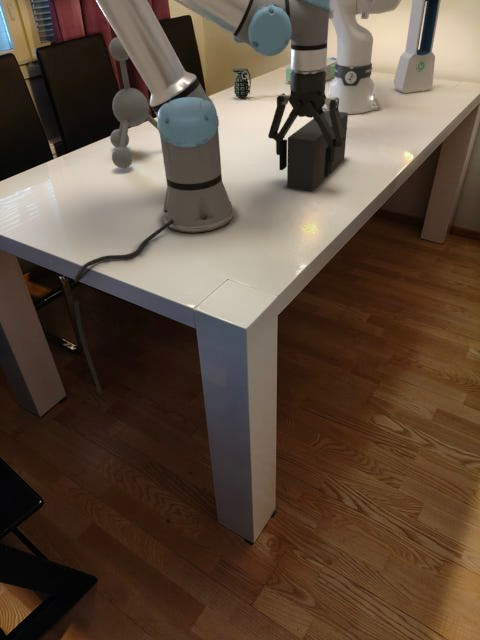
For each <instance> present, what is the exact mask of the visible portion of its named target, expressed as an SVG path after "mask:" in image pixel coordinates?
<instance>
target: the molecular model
mask: <svg viewBox="0 0 480 640" xmlns="http://www.w3.org/2000/svg"><path fill="white" fill-rule="evenodd" d="M108 50H109V53H110V56H111V57H112V58H113V60H116V61H117V62H119V65H120V72H121V76H122V83H123V87H124V88H122V89H120V90H119V91H117V92H116V93H115V95H114V97H113V99H112V105H111V106H112V112H113V115H114V117H115V119H117V121H118V122H119V123H120V124H119V128H116V129H114V130H113V131H112V132H111V134H110V137H109V140H110V143H111V145H112V146H113V147H114V148H115V149H114V150H113V151H112V154H111V160H112V162H113V164H114V165H115V166H116V167H117V168H119V169H127V168H129V167H130V166H131V165H132V163H133V160H134V157H133V153H132V151H131V150H130V149H129V148H127V147H128V145H129V143H130V137H129V133H128V132H129V127H130V128H135V127H139V126H141V125H142V124H144V123H145V122H146V121H147V122H149V123H150V124H151V125H152V126H153V127H154V128H156V130H158V126H157V124H158V120H156V119H155V118H154V117H153V116H151V115H150V113H149V112H150V104H149V101H148V99H147V98H146V97H147V96H145V94H143V92H142V91H140V90H139V89H137V88H134V87H131V86H130V85H131V84H130V80H129V74H128V69H127V68H128V67H127V62H126V61H127V60H129V59H130V57H129V55H128V54H127V52H126V50H125V48H124V47H123V45H122V43H121V42H120V40H119V38H118V37H117V36H115V37H114V38H112V39H111V41H110V42H109V45H108Z"/></svg>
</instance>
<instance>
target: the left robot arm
mask: <svg viewBox="0 0 480 640" xmlns="http://www.w3.org/2000/svg"><path fill="white" fill-rule="evenodd" d="M95 1H96V3H97V5H98V7H99V9H100V11H102V13H103V15H104V17H105V18H106V20H107V22H108V23H109V25H110V27H111V28H112V30H113V32H114V33H115V35H116V37H118V38H119V40H120V42H121V43H122V45H123V47H124V48H125V50H126V52H127V54H128V55H129V59H130V60H131V62H132V64H133V65H134V67H135V68H136V71H137V72H138V74H139V75H140V77H141V79H142V80H143V82H144V84H145V85H146V87H147V89H148V90H149V92H150V99H149V107H150V108H151V109H152V111H153V113H154V114H155V116H156V118H157V122H158V124H157V126H158V129H157V131H158V133H159V138H160V145H161V150H162V152H161V153H162V159H163V165H164V166H163V168H164V173H165V180H166V190H165V191H166V192H165V196H164V203H163V207H162V218H163V222H164V225H162V226H160V227H159V228H158V229H157V230H155V231H154V232H153V233H151V234H150V235H149V236H147V237H146V238H145V239H143V240H142V242H141V243H140V244H139V246H138V247H137V249H136V250H134V251H132V252H130V253H127V254H111V255H110V254H109V255H103V256H100V257H97V258H95V259H91V260H89V261H87V262H85V263H84V264H83V265H82V266H81V267H80V268H79V269H78V271H77V273H76V275H75V278H74V282H75V283H77V282H79V281H80V279H81V277H82V275H83V273H84V272H85V270H87V268H89V267H90V266H92V265H94V264H97V263H101V262H104V261H107V260H125V259H129V258H132V257H135V256H137V255H139V254H140V253H141V252H142V251H143V248H144V247H145V245H147V243H149V242H150V241H152V240H153V239H154V238H155V237H156V236H158V235H159V234H161V233H162V232H163V231H164V230H166V229H167V228H169V229H171V230H173V231H177V232H180V233H190V234H191V233H192V234H193V233H194V234H195V233H196V234H197V233H205V232H206V233H207V232H210V231H215V230H216V229H220V228H222V227H224V226H226V225H227V224H228V223H230V221H231V220H232V218H233V216H234V212H233V211H234V210H233V205H232V201H231V200H230V197H229V195H228V192H227V190H226V187H225V184H224V182H223V175H222V174H223V173H222V161H221V147H220V146H221V145H220V134H219V127H220V126H219V125H220V122H219V121H220V119H219V116H218V113H217V108H216V106H215V104H214V101H212V99H211V98H210V97H209V95H208V94H207V93H206V92H205V90H204V88H203V86H202V84H201V82H200V81H199V79H198V77H197V76H196V74H194V73H192V72H188V71H187V70H185V67H184V66H183V65H182V62H181V61H180V58H179V57H178V55H177V53H176V51H175V49H174V47H173V46H172V44H171V42H170V40H169V39H168V36H167V34H166V33H165V31H164V29H163V27H162V25H161V24H160V21H159V20H158V18H157V15H155V12H154V10H153V8H152V7H151V5H150V3H149V1H148V0H95ZM174 1H175V2H176V3H178V4H180V5H181V6H183V7H185V8H186V9H188V10H190V11H192V12H193V13H195V14H197V15H199V16H200V17H202V18H204V19H205V20H207V21H209V22H211V23H212V24H214V25H215V26H217V27H218V28H220V29H222V30H224V31H225V32H227V33H229V34H230V35H232V38H233V41H234V42H235V43H237V44H246V45H248V46H250V47H251V48H252V49H253V51H254V52H256V53H258V54H260V55H261V56H262V55H263V56H265V57H274V56H277V55H279V54H280V53H282V52H283V51H284V50H285V49H286V48H287V46H288V45H289V44H290V65H291V66H290V65H289V66H290V68H291V69H292V70H293V71H292V72H291V76H290V81H289V82H290V84H289V85H290V86H289V87H290V93H289V94H286V93H284V92H283V93H281V94H279V95H277V97H276V108H275V112H274V115H273V118H272V121H271V124H270V128H269V131H268V135H267V136H268V138H269V139H272V140H274V141H275V153H276V155H277V156H279V157H278V159H279V162H278V163H279V165H278V166H279V171H283V170H285V169H286V168H287V164H288V139H285V138H286V136H287V134H288V132H289V131H290V129H291V127H292V126H293V124H294V123H295V121H296V119H297V118H298V117H299V118H300V117H301V118H303V117H306V118H312V119H314V120H315V121H316V122H317V124H318V126H319V128H320V130H321V131H322V133H323V135H324V137H325V139H326V141H327V143H328V145H329V146H328V147H327V148H326V152H325V170H324V177H326V178H327V177H329V176H330V175H331V174H332V172H331V168H332V162H334V161H335V159H336V152H337V147H340V146H342V145H343V144H344V143H345V142H346V141H347V138H346V139H345V135H344V131H343V126H342V122H341V118H340V114H339V109H338V107H339V98H337V97H335V98H334V99H331V98H328V97H327V96H326V83H327V81H326V72H325V70H323V69H325V68H326V62H327V58H328V39H329V22H330V21H329V20H330V18H329V11H330V0H174ZM288 104H290V106H291V108H292V109H291V111H290V112H289V114H288V117H287V118H286V120H285V122H284V123H283V125H282V127H281V128H280V126H281V122H282V119H283V117H284V113H285V110H286V106H287V105H288ZM325 104H326V105H327V108H328V109H329V110H328V109H327V110H328V111H329V112H330V117H331V122H332V126H333V130H334V133H333V131H332V129H331V127H330V125H329V123H328V121H327V119H326V117H325V113H324V111H325V110H324V108H323V106H324V105H325ZM279 129H280V130H279ZM334 134H335V135H334ZM346 143H347V142H346ZM73 303H74V311H75V318H76V325H77V329H78V334H79V338H80V341H81V346H82V348H83V351H84V354H85V357H86V360H87V363H88V365H89V370H90V372H91V374H92V378H93V380H94V384H95V387H96V390H97V393H98V394H101V393H102V388H101V385H100V382H99V381H100V380H99V377H98V374H97V372H96V369H95V366H94V364H93V360H92V357H91V354H90V351H89V349H88V344H87V342H86V337H85V333H84V329H83V325H82V318H81V311H80V301H78V300H73Z"/></svg>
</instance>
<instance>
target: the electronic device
mask: <svg viewBox="0 0 480 640" xmlns="http://www.w3.org/2000/svg"><path fill="white" fill-rule="evenodd" d="M441 1H442V0H412V1H411V8H410V16H409V23H408V29H407V30H408V31H407V37H406V42H405V43H406V44H405V51H403V52H402V54H401V55H400V56H399V61H398V64H397V68H396V72H395V75H394V79H393V87H394V88H395V90H396V91H398V92H401V93H403V94H409V93H416V92H425V91H430V90H431V88H432V87H433V83H434V71H435V62H436V55H435V53H434V52H433V49H434V47H433V46H434V42H435V35H436V29H437V24H438V18H439V14H440V13H439V12H440V6H441Z"/></svg>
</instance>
